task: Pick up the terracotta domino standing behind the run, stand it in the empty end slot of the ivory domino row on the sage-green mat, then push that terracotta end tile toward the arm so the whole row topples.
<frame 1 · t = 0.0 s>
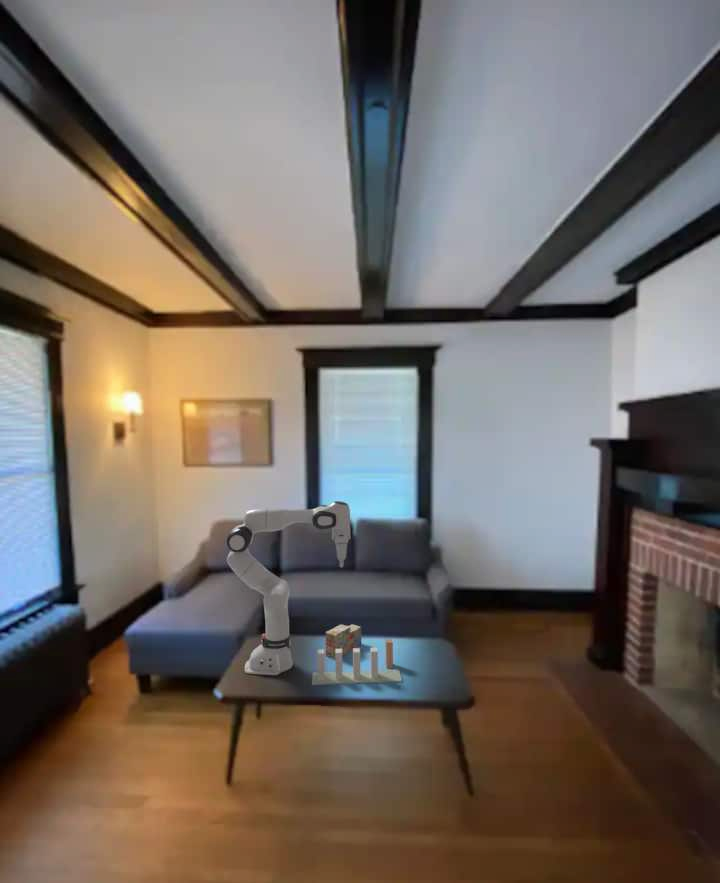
hand: (341, 564, 228), 48 cm above the table, fingers open, 8 cm apart
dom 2: (339, 677, 215), point 1 cm above the table, touching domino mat
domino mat: (356, 677, 216), on the table
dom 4: (374, 675, 216), point 1 cm above the table, touching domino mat
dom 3: (356, 676, 216), point 1 cm above the table, touching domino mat
stack of blocks: (344, 650, 244), on the table
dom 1: (321, 677, 215), point 1 cm above the table, touching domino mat
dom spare: (389, 665, 227), on the table
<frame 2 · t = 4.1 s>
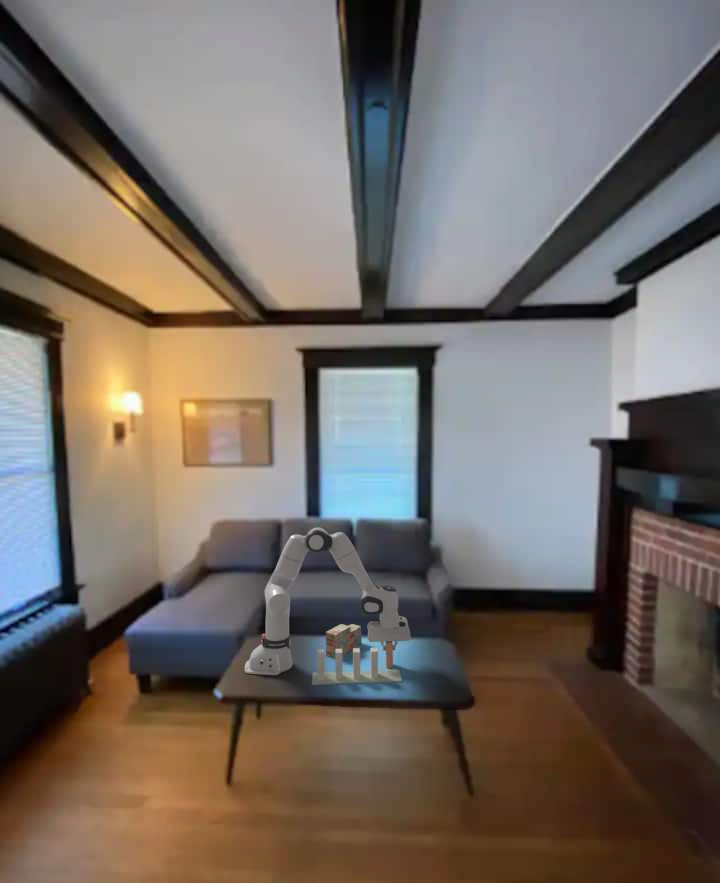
hand: (389, 649, 227), 8 cm above the table, fingers closed on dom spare, 3 cm apart
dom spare: (389, 665, 227), on the table, touching gripper
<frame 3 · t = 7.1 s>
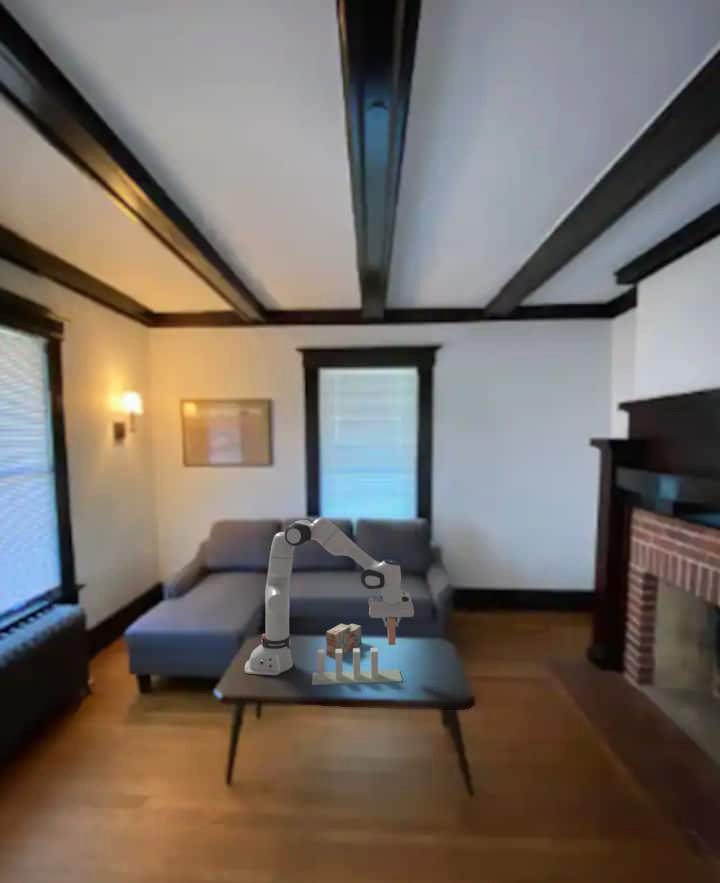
hand: (391, 626, 216), 23 cm above the table, fingers closed on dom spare, 3 cm apart
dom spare: (391, 643, 216), point 15 cm above the table, touching gripper
when the fingers open (9 cm above the table, at t = 10.5 s): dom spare stays where it is, resting on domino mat.
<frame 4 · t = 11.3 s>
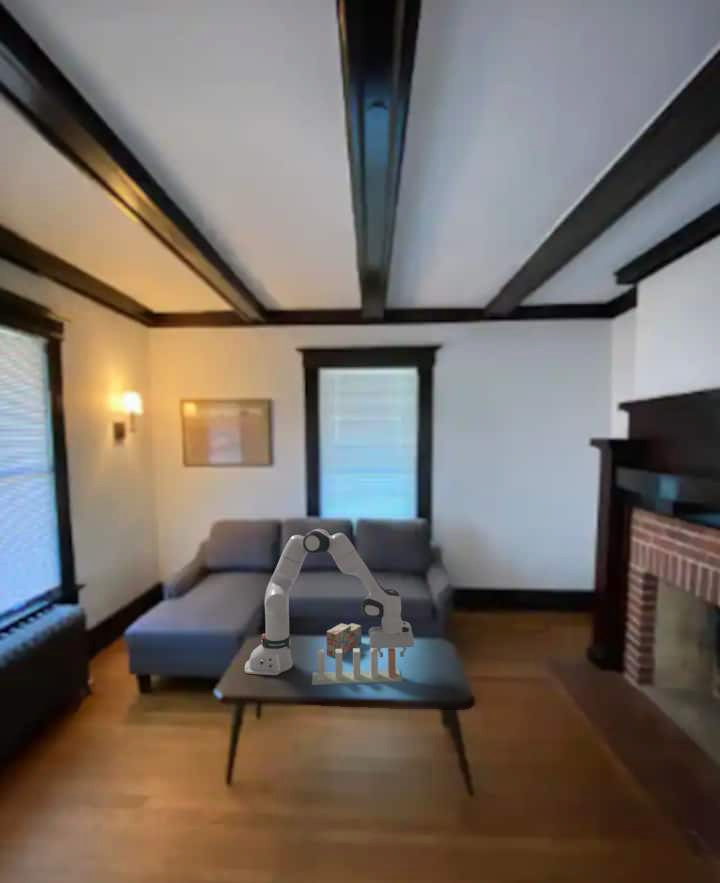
hand: (391, 656, 217), 9 cm above the table, fingers open, 8 cm apart
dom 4: (374, 675, 216), point 1 cm above the table, touching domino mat, gripper
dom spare: (391, 675, 217), point 1 cm above the table, touching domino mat
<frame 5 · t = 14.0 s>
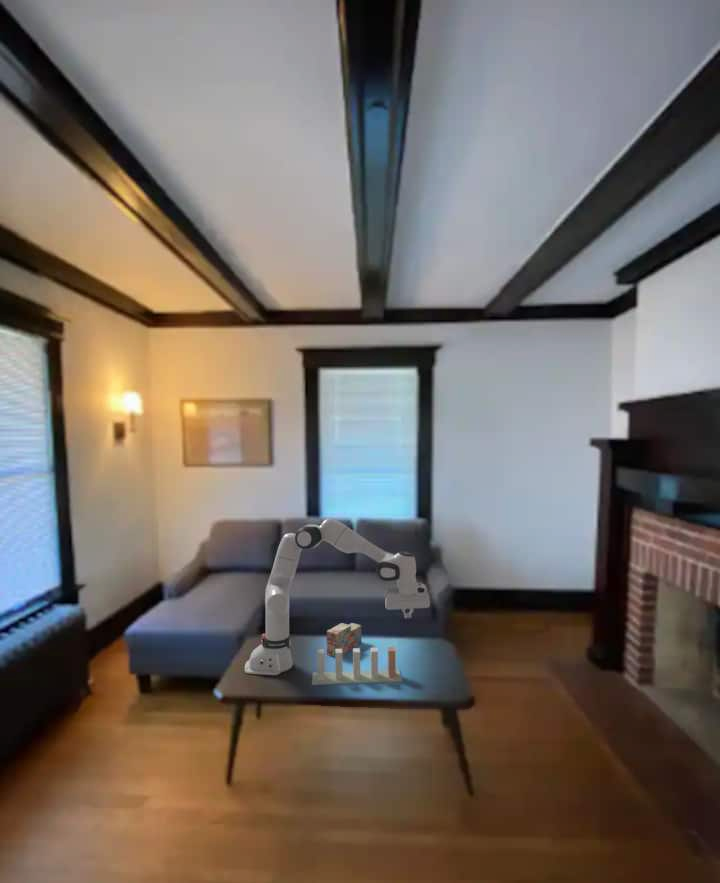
hand: (407, 617, 217), 27 cm above the table, fingers closed
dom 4: (374, 675, 216), point 1 cm above the table, touching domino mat
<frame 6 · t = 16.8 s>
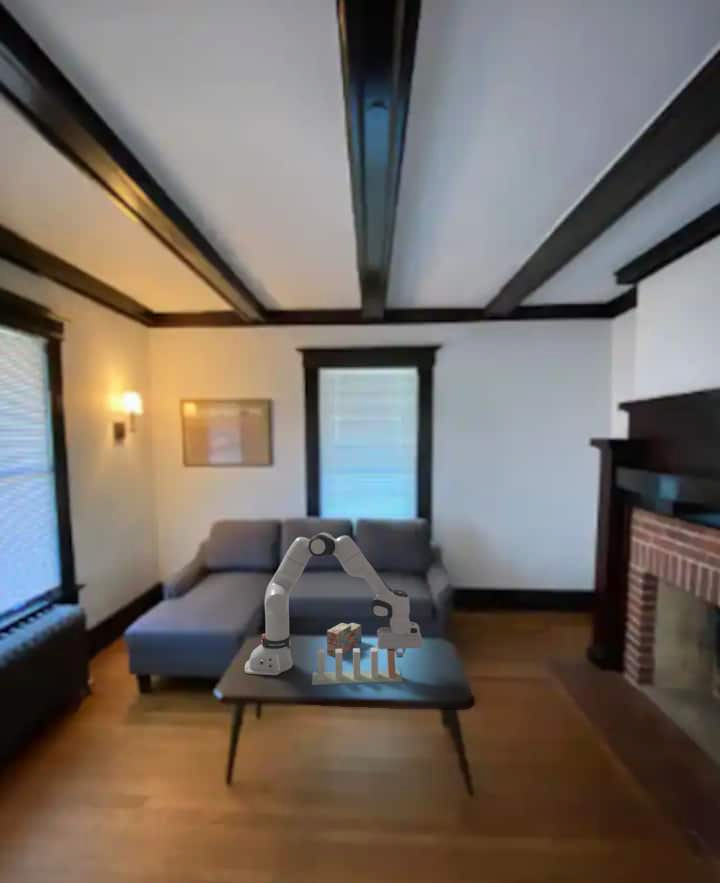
hand: (399, 657, 217), 9 cm above the table, fingers closed
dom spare: (391, 675, 217), point 1 cm above the table, touching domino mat, gripper
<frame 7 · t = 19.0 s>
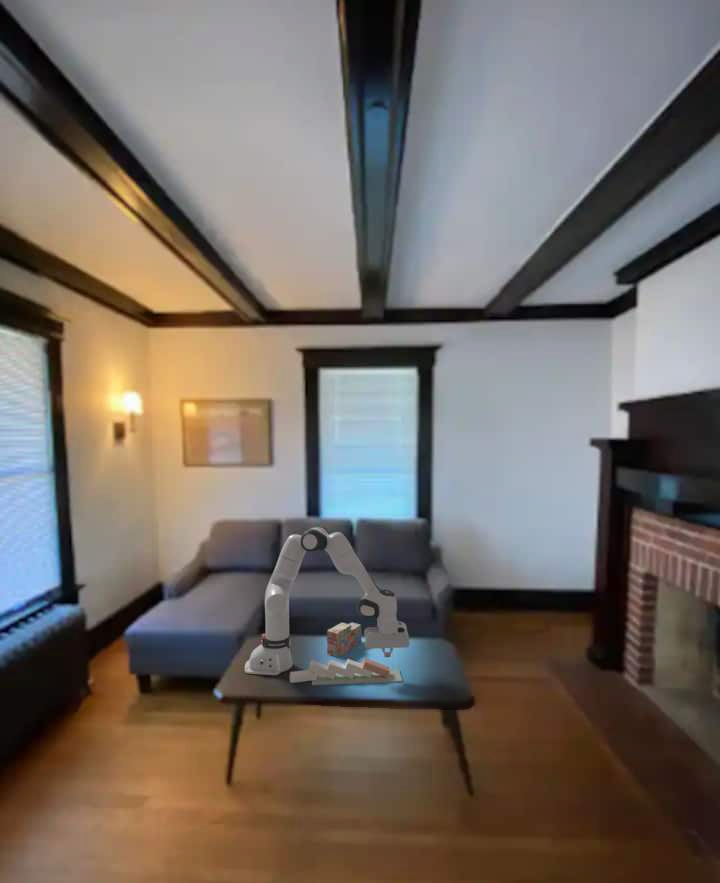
hand: (387, 656, 216), 9 cm above the table, fingers closed
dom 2: (334, 674, 215), point 2 cm above the table, tilted 67°, touching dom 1, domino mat
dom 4: (371, 672, 216), point 2 cm above the table, tilted 68°, touching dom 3, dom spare, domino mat
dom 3: (353, 673, 216), point 2 cm above the table, tilted 69°, touching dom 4, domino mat
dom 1: (317, 674, 215), point 2 cm above the table, tilted 95°, touching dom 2, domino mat
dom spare: (388, 672, 217), point 2 cm above the table, tilted 67°, touching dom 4, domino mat
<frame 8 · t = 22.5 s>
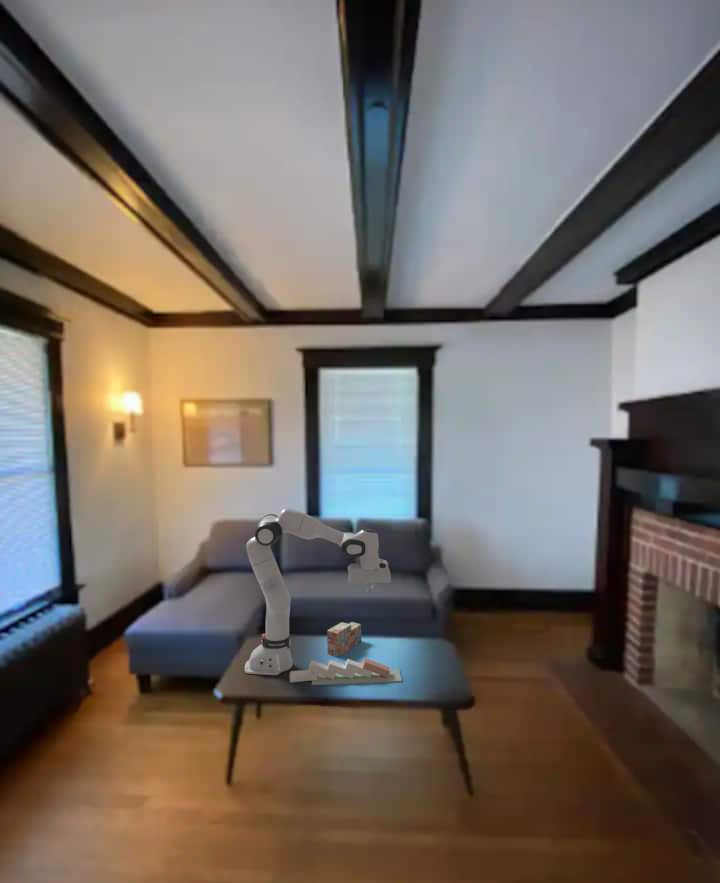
hand: (369, 592, 227), 35 cm above the table, fingers closed
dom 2: (334, 674, 215), point 2 cm above the table, tilted 67°, touching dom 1, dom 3, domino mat
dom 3: (353, 673, 216), point 2 cm above the table, tilted 69°, touching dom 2, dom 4, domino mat
at the end: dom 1 tilted 94°; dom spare tilted 67° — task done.
